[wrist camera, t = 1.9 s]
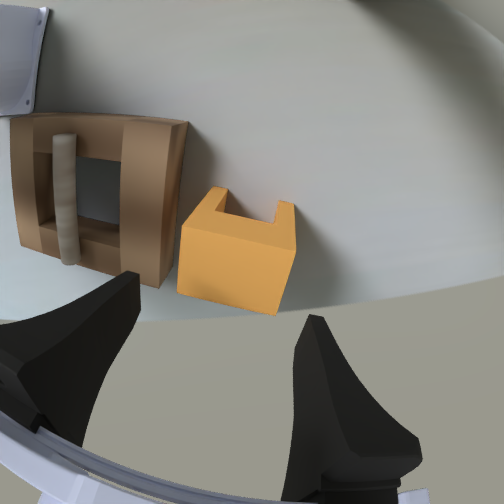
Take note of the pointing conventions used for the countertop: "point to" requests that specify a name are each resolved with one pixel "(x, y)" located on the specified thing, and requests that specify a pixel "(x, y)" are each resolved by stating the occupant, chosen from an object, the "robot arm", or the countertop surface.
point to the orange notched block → (236, 255)
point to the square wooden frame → (131, 189)
